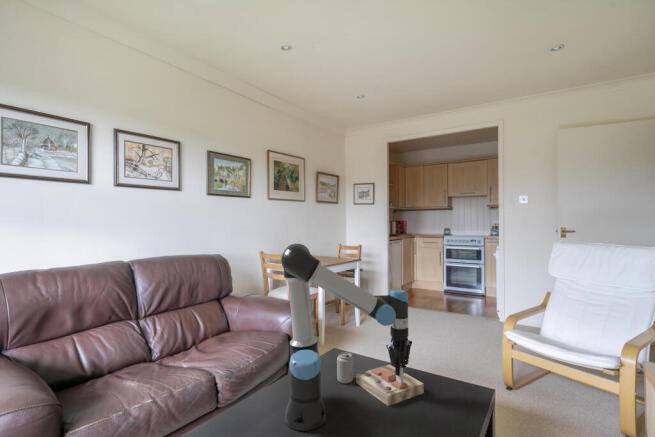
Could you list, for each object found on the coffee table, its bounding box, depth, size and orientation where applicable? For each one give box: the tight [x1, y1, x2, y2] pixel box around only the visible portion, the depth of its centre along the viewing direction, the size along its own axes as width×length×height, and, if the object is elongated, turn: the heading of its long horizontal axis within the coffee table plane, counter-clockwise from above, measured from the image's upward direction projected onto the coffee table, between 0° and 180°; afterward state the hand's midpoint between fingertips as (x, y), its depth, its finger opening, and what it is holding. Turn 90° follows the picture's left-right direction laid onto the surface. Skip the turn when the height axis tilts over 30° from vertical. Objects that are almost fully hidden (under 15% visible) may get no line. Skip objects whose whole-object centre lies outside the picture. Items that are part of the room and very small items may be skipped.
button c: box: [371, 366, 385, 376], centre depth 150 cm, size 4×4×4 cm
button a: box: [392, 381, 407, 390], centre depth 138 cm, size 4×4×4 cm
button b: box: [382, 370, 396, 383], centre depth 144 cm, size 4×4×4 cm
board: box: [355, 364, 425, 407], centre depth 144 cm, size 20×22×4 cm
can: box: [336, 352, 354, 385], centre depth 151 cm, size 8×8×12 cm
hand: (399, 382), depth 138 cm, fingers closed
